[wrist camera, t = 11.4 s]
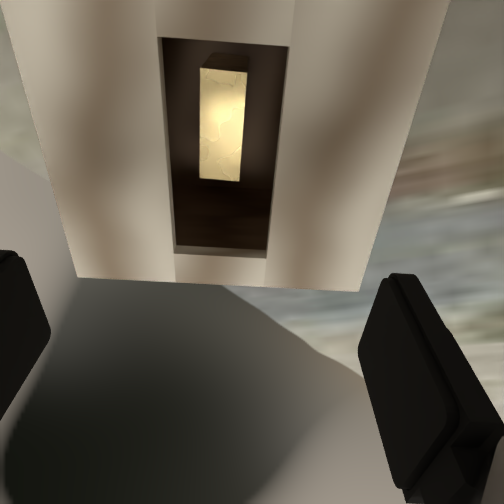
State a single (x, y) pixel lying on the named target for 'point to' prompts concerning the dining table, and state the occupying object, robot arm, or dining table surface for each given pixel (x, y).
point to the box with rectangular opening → (254, 132)
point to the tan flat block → (222, 115)
